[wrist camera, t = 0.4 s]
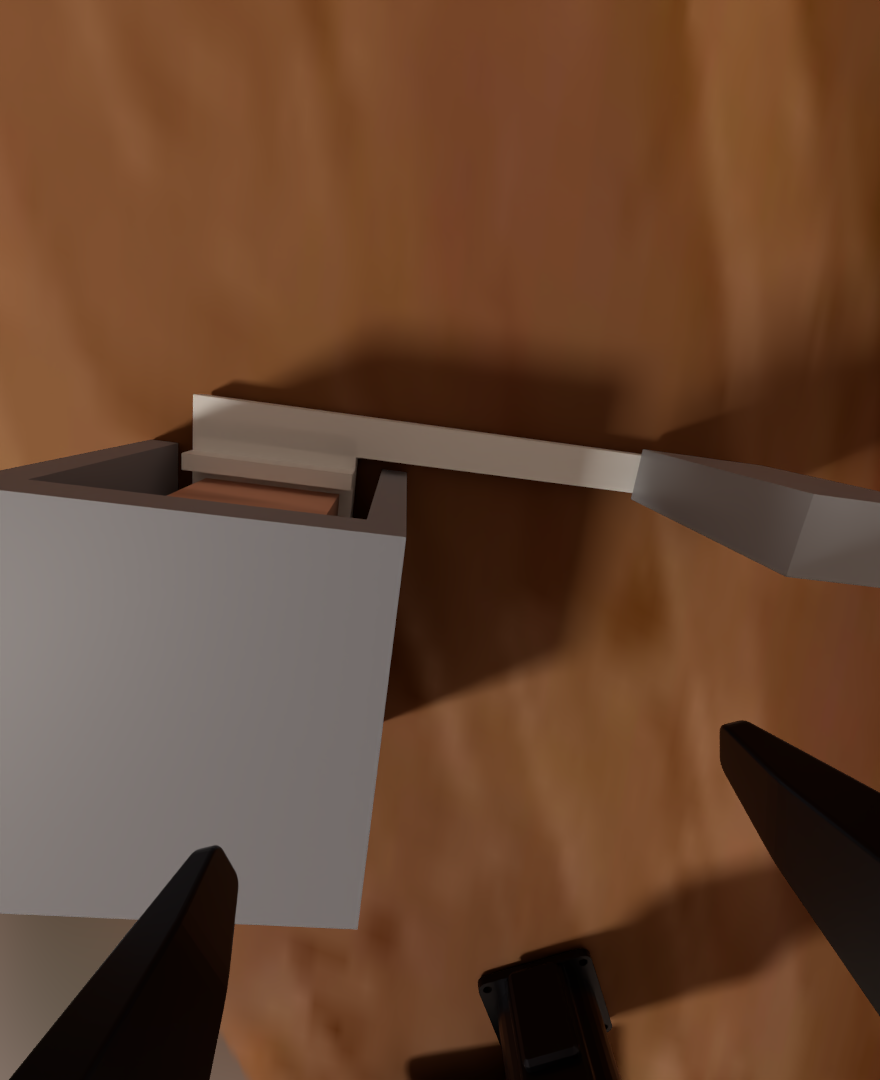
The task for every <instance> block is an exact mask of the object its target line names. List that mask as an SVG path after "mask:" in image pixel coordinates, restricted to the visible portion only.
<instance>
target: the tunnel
mask: <svg viewBox="0 0 880 1080" xmlns="http://www.w3.org/2000/svg"><path fill="white" fill-rule="evenodd" d="M176 491H178V443H174V442H167V441H159V440H147V441H142V442H138V443H133V444H128V445H123V446H118V447H113V448H108V449H103V450H98V451H94V452H89V453H84V454H79V455H74V456H69V457H64V458H59V459H54V460H49V461H45V462H40V463H35V464H30V465H25V466H20V467H15V468H10V469H5V470H1V471H0V913H4V914H26V915H28V914H29V915H48V916H71V917H93V918H115V919H139V918H140V917H141V915H142V914H143V913H144V912H145V910H146V909H147V908H148V907H149V906H150V904H151V903H152V902H153V901H154V899H155V898H156V897H157V896H158V894H159V893H160V892H161V891H162V889H163V888H164V887H165V886H166V884H167V883H168V882H169V881H170V880H171V878H172V877H173V876H174V875H175V873H176V872H177V871H178V870H179V868H180V867H181V866H182V865H183V863H184V862H185V861H186V860H187V858H188V857H189V856H190V855H191V854H192V853H193V852H194V851H195V850H197V849H200V848H205V847H209V846H213V845H218V846H220V847H221V848H222V849H223V851H224V852H225V854H226V856H227V857H228V859H229V861H230V863H231V864H232V866H233V868H234V870H235V871H236V874H237V877H238V885H239V887H238V898H237V907H236V916H235V924H249V925H272V926H294V927H316V928H339V929H357V928H358V920H359V912H360V904H361V896H362V888H363V880H364V872H365V864H366V856H367V848H368V840H369V832H370V824H371V816H372V808H373V800H374V792H375V784H376V776H377V768H378V760H379V752H380V744H381V736H382V728H383V720H384V712H385V704H386V696H387V688H388V680H389V672H390V664H391V656H392V648H393V640H394V632H395V624H396V616H397V608H398V600H399V592H400V584H401V576H402V568H403V559H404V551H405V543H406V512H407V472H402V471H394V470H386V469H382V472H381V475H380V478H379V482H378V485H377V488H376V491H375V495H374V498H373V501H372V504H371V507H370V511H369V514H368V517H367V520H366V519H358V518H349V517H341V516H332V515H324V514H315V513H307V512H298V511H290V510H282V509H273V508H265V507H256V506H248V505H239V504H231V503H222V502H214V501H205V500H197V499H189V498H180V497H172V496H167V495H169V494H171V493H174V492H176Z"/></svg>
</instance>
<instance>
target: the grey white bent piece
mask: <svg viewBox="0 0 880 1080" xmlns="http://www.w3.org/2000/svg"><path fill="white" fill-rule="evenodd" d="M358 458H365V459H373V460H381V461H389V462H396V463H404V464H412V465H420V466H427V467H435V468H443V469H451V470H458V471H466V472H474V473H482V474H489V475H497V476H505V477H512V478H520V479H528V480H536V481H543V482H551V483H559V484H567V485H574V486H582V487H590V488H598V489H605V490H613V491H621V492H629V493H632V497H631V499H632V500H634V501H636V502H638V503H640V504H642V505H644V506H646V507H648V508H650V509H652V510H654V511H656V512H658V513H660V514H662V515H664V516H666V517H668V518H670V519H672V520H674V521H676V522H678V523H680V524H682V525H684V526H686V527H688V528H690V529H692V530H694V531H696V532H698V533H700V534H702V535H704V536H706V537H708V538H710V539H712V540H714V541H716V542H718V543H720V544H722V545H724V546H726V547H728V548H730V549H732V550H734V551H736V552H738V553H740V554H742V555H744V556H746V557H748V558H750V559H752V560H754V561H756V562H758V563H760V564H762V565H764V566H766V567H768V568H770V569H772V570H774V571H776V572H778V573H780V574H782V575H784V576H786V577H793V578H801V579H810V580H819V581H827V582H836V583H844V584H853V585H861V586H870V587H878V588H880V492H879V491H875V490H870V489H866V488H861V487H857V486H852V485H848V484H843V483H839V482H834V481H830V480H825V479H821V478H816V477H811V476H807V475H802V474H798V473H793V472H789V471H784V470H780V469H775V468H771V467H766V466H761V465H754V464H747V463H740V462H732V461H725V460H718V459H711V458H703V457H696V456H689V455H681V454H674V453H667V452H660V451H652V450H645V449H643V451H642V454H638V453H631V452H623V451H616V450H609V449H601V448H594V447H587V446H580V445H572V444H565V443H558V442H550V441H543V440H536V439H528V438H521V437H514V436H506V435H499V434H492V433H484V432H477V431H470V430H463V429H455V428H448V427H441V426H433V425H426V424H419V423H411V422H404V421H397V420H389V419H382V418H375V417H367V416H360V415H353V414H346V413H338V412H331V411H324V410H316V409H309V408H302V407H294V406H287V405H280V404H272V403H265V402H258V401H250V400H243V399H236V398H229V397H221V396H214V395H207V394H193V450H190V451H187V452H183V453H182V470H187V471H192V484H194V483H196V482H198V481H200V480H203V479H205V478H211V479H219V480H227V481H236V482H244V483H252V484H260V485H268V486H276V487H285V488H293V489H301V490H309V491H317V492H326V493H334V494H339V505H338V516H341V517H349V518H352V516H353V506H354V495H355V485H356V474H357V464H358Z"/></svg>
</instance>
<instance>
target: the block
mask: <svg viewBox="0 0 880 1080" xmlns="http://www.w3.org/2000/svg"><path fill="white" fill-rule="evenodd" d="M167 496H172V497H180V498H189V499H197V500H205V501H214V502H222V503H231V504H239V505H248V506H256V507H265V508H273V509H282V510H290V511H298V512H307V513H315V514H324V515H332V516H338V505H339V494H334V493H326V492H317V491H309V490H301V489H293V488H285V487H276V486H268V485H260V484H252V483H244V482H236V481H227V480H219V479H211V478H205V479H203V480H200V481H198V482H196V483H194V484H191V485H189V486H187V487H185V488H183V489H180V490H178V491H176V492H174V493H171V494H169V495H167Z"/></svg>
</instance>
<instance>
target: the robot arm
mask: <svg viewBox="0 0 880 1080" xmlns="http://www.w3.org/2000/svg"><path fill="white" fill-rule="evenodd" d="M720 762H721V765H722V768H723V771H724V773H725V775H726V777H727V778H728V780H729V782H730V784H731V786H732V787H733V789H734V791H735V793H736V795H737V796H738V798H739V800H740V802H741V804H742V805H743V807H744V809H745V811H746V813H747V814H748V816H749V818H750V820H751V822H752V823H753V825H754V827H755V829H756V831H757V832H758V834H759V836H760V838H761V840H762V841H763V843H764V845H765V847H766V848H767V850H768V852H769V854H770V855H771V857H772V859H773V860H774V862H775V864H776V865H777V867H778V868H779V870H780V871H781V873H782V874H783V876H784V877H785V879H786V880H787V882H788V883H789V885H790V886H791V887H792V889H793V890H794V892H795V893H796V895H797V896H798V898H799V899H800V901H801V902H802V903H803V905H804V906H805V908H806V909H807V911H808V912H809V914H810V915H811V917H812V918H813V920H814V921H815V922H816V924H817V925H818V927H819V928H820V930H821V931H822V933H823V934H824V936H825V937H826V938H827V940H828V941H829V943H830V944H831V946H832V947H833V949H834V950H835V952H836V953H837V955H838V956H839V957H840V959H841V960H842V962H843V963H844V965H845V966H846V968H847V969H848V971H849V972H850V973H851V975H852V976H853V978H854V979H855V981H856V982H857V984H858V985H859V987H860V988H861V989H862V991H863V992H864V994H865V995H866V997H867V998H868V1000H869V1001H870V1003H871V1004H872V1006H873V1007H874V1008H875V1010H876V1011H877V1013H878V1014H879V1016H880V793H879V792H878V791H876V790H874V789H872V788H870V787H868V786H866V785H865V784H863V783H861V782H859V781H857V780H855V779H854V778H852V777H850V776H848V775H846V774H844V773H842V772H841V771H839V770H837V769H835V768H833V767H831V766H829V765H828V764H826V763H824V762H822V761H820V760H818V759H817V758H815V757H813V756H811V755H809V754H807V753H805V752H804V751H802V750H800V749H798V748H796V747H794V746H792V745H791V744H789V743H787V742H785V741H783V740H781V739H779V738H778V737H776V736H774V735H772V734H770V733H768V732H767V731H765V730H763V729H761V728H759V727H757V726H755V725H754V724H752V723H750V722H747V721H743V720H741V721H736V722H732V723H728V724H724V725H722V726H721V728H720ZM238 887H239V885H238V877H237V874H236V871H235V870H234V868H233V866H232V864H231V863H230V861H229V859H228V857H227V856H226V854H225V852H224V851H223V849H222V848H221V847H220V846H218V845H213V846H209V847H205V848H200V849H197V850H195V851H194V852H193V853H192V854H191V855H190V856H189V857H188V858H187V860H186V861H185V862H184V863H183V865H182V866H181V867H180V868H179V870H178V871H177V872H176V873H175V875H174V876H173V877H172V878H171V880H170V881H169V882H168V883H167V884H166V886H165V887H164V888H163V889H162V891H161V892H160V893H159V894H158V896H157V897H156V898H155V899H154V901H153V902H152V903H151V904H150V906H149V907H148V908H147V909H146V910H145V912H144V913H143V914H142V915H141V917H140V918H139V919H138V921H137V922H136V923H135V924H134V926H133V927H132V928H131V929H130V930H129V932H128V933H127V934H126V935H125V937H124V938H123V939H122V940H121V941H120V943H119V944H118V945H117V946H116V948H115V949H114V950H113V952H112V953H111V954H110V955H109V956H108V958H107V959H106V960H105V961H104V963H103V964H102V965H101V966H100V967H99V969H98V970H97V971H96V972H95V974H94V975H93V976H92V977H91V979H90V980H89V981H88V982H87V984H86V985H85V986H84V987H83V989H82V990H81V991H80V992H79V993H78V995H77V996H76V997H75V998H74V1000H73V1001H72V1002H71V1003H70V1005H69V1006H68V1007H67V1009H66V1010H65V1011H64V1012H63V1013H62V1015H61V1016H60V1017H59V1018H58V1020H57V1021H56V1022H55V1023H54V1025H53V1026H52V1027H51V1028H50V1029H49V1031H48V1032H47V1033H46V1034H45V1036H44V1037H43V1038H42V1039H41V1041H40V1042H39V1043H38V1044H37V1046H36V1047H35V1048H34V1049H33V1051H32V1052H31V1053H30V1054H29V1055H28V1057H27V1058H26V1059H25V1060H24V1062H23V1063H22V1064H21V1066H20V1067H19V1068H18V1069H17V1070H16V1072H15V1073H14V1074H13V1075H12V1077H11V1078H10V1079H9V1080H209V1079H210V1074H211V1069H212V1064H213V1059H214V1054H215V1049H216V1044H217V1039H218V1034H219V1029H220V1024H221V1019H222V1014H223V1009H224V1004H225V998H226V993H227V986H228V979H229V971H230V962H231V953H232V944H233V934H234V925H235V916H236V907H237V898H238ZM478 988H479V994H480V996H481V999H482V1001H483V1004H484V1006H485V1008H486V1011H487V1013H488V1016H489V1018H490V1021H491V1023H492V1026H493V1028H494V1030H495V1033H496V1035H497V1038H498V1040H499V1043H500V1045H501V1048H502V1053H503V1060H504V1067H505V1074H506V1080H621V1077H620V1074H619V1070H618V1067H617V1064H616V1061H615V1057H614V1054H613V1051H612V1048H611V1044H610V1041H609V1038H608V1035H607V1032H609V1031H610V1030H611V1028H612V1024H611V1020H610V1017H609V1014H608V1011H607V1007H606V1004H605V1001H604V998H603V994H602V991H601V988H600V985H599V982H598V978H597V975H596V972H595V969H594V965H593V962H592V959H591V956H590V953H589V951H588V950H587V949H584V948H581V949H576V950H573V951H569V952H566V953H562V954H559V955H555V956H552V957H549V958H545V959H542V960H538V961H535V962H531V963H528V964H524V965H521V966H517V967H514V968H510V969H507V970H503V971H500V972H496V973H493V974H490V975H486V976H483V977H481V978H480V979H479V980H478Z"/></svg>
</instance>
